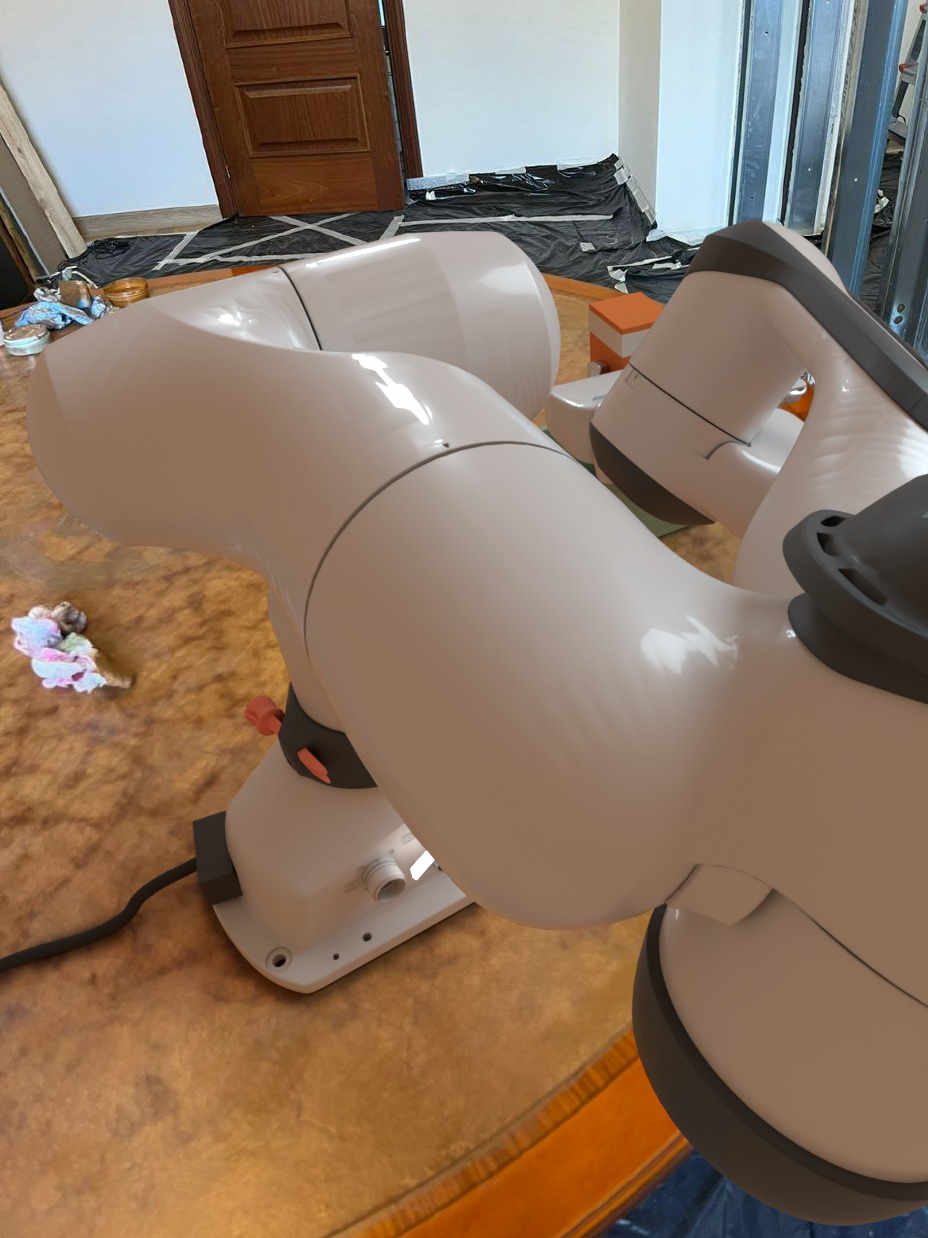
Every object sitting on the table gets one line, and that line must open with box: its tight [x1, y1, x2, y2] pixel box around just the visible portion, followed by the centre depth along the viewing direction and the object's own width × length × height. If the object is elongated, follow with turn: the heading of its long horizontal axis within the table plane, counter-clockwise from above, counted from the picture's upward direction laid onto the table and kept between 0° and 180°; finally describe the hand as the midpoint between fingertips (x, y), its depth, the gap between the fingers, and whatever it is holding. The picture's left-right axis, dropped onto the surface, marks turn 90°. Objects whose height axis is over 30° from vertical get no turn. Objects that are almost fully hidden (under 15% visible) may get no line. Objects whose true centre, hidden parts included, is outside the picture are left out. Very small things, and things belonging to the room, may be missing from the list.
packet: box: [587, 291, 664, 373], centre depth 78 cm, size 5×7×11 cm
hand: (626, 360), depth 78 cm, fingers closed on packet, 5 cm apart
